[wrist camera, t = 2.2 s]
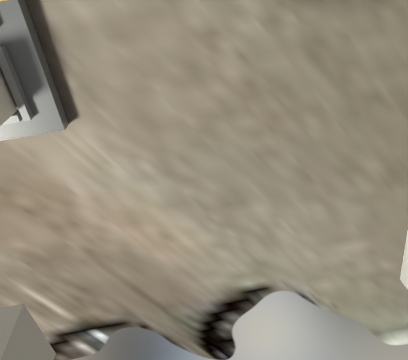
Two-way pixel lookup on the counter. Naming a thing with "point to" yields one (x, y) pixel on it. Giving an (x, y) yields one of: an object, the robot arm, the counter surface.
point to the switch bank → (27, 76)
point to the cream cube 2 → (5, 101)
